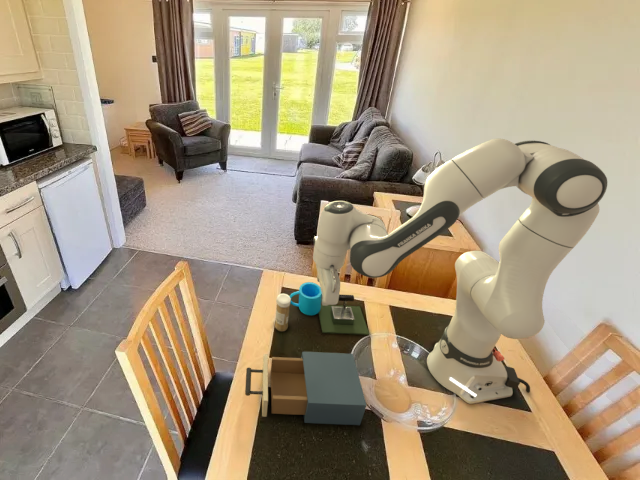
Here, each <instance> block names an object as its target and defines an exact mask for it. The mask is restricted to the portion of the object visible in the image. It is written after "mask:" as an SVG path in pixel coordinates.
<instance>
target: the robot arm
mask: <svg viewBox="0 0 640 480" xmlns="http://www.w3.org/2000/svg"><path fill="white" fill-rule="evenodd" d="M511 187H516V188H517V189H519V190H520V191H521V192H522V193H523V194H526V195H528V196H530V197H531V202H530V204H529V206H528V207H527V208H526V209H525V210H524V212H523V213H522V214H521V215H520V216H519V217H518V219H517V220H516V221H515V222H514V223H513V225H512V226H511V227H510V229H508V231H507V232H506V233H505V235H504V236H503V237H502V238H501V240H500V241H499V243H498V254H499V260H497V259H495V258H494V257H492V256H491V255H489V254H488V253H486V252H484V251H482V250H470V251H466V252H464V253H462V254H461V255H460V256H458V258H456V260H455V262H454V269H455V275H456V297H455V308H454V312H453V315H452V317H451V318H450V319H451V320H450V321H449V324H448V325H447V326H446V327H445V329H444V330H443V333H442V335H441V338H440V339H439V341H438V342H436V343H435V344H434V345H433V346H434V347H433V350H432V351H430V353H429V354H428V355H427V358H426V365H427V368H428V370H429V373H430V374H431V375H432V377H433V378H434V379H435V380H436V381H437V382H438V383H439V384H440V385H441V386H442V387H444V388H445V389H446V390H448V391H450V392H452V393H454V394H455V395H457V396H458V397H459V398H460V399H462V401H464V402H465V403H467V404H468V405H469V404H470V405H472V404H473V405H474V404H479V403H484V402H490V401H495V400H499V399H505V398H511V397H512V396H513V393H514V391H513V390H517V388H519V386H520V384H522V385H524V386H525V391H526V393H528V394H530V393H531V386H530V384H529V383H528V382H527V381H525V380H524V379H522V378H520V377H518V374H517V372H516V370H515V368H514V367H510V366H508V365H504V364H503V361H504V360H505V357H504V355H502V353H501V351H499V350H496V348H495V347H496V345H497V343H498V341H499V340H500V338H501V336H503V337H505V338H507V339H512V340H527V339H531V338H533V337H535V336H537V335H538V334H539V333H540V332H541V331H542V329H543V328H544V325H545V321H546V320H545V315H544V312H543V301H544V294H545V291H546V286H547V283H548V281H549V279H550V277H551V275H552V273H553V272H554V270H555V269H556V268H557V267H558V266H559V265H560V264H561V262H562V261H563V260H564V259H565V258H566V257H567V255H568V254H569V253H570V252H572V250H573V249H574V248H575V247H576V246H577V245H578V244H579V243H580V241H581V240H582V239H583V238H584V237H585V235H586V234H587V232H588V231H589V230H590V228H591V227H592V226H593V224H594V222H595V221H596V219H597V217H598V215H599V213H600V205H599V203H600V202H601V200H602V199H603V198H604V196H605V193H606V191H607V188H608V177H607V176H606V173H604V171H603V170H602V169H601V168H600V167H599V166H598V165H596V164H595V163H594V162H591V161H590V160H587V159H584V158H583V157H581V156H580V155H578V154H576V153H574V152H572V151H570V150H569V149H566V148H562V147H561V148H560V147H557V146H555V145H552V144H550V143H548V142H545V141H541V140H523V141H518V142H516V143H514V142H512V141H510V140H508V139H505V138H492V139H489V140H487V141H484V142H482V143H480V144H477V145H476V146H473V147H471V148H469V149H467V150H464V151H463V152H461V153H459V154H457V155H456V156H454V157H452V158H451V159H449V160H448V161H446V162H445V163H442V164H441V165H439V166H438V167H437V168H435V170H434V171H432V172H431V173H430V174H429V175H428V176H427V178H426V179H425V182H424V186H423V196H422V201H421V203H420V207H419V209H418V210H417V212H416V213H415V214H414V215H413V216H412V217H411V218H410V219H408V220H406V221H405V222H404V223H403V224H401V225H400V226H398V227H397V228H395V229H394V230H393V231H391V232H390V233H388V230H387V228H386V225H385V222H384V221H383V220H382V219H381V218H379V217H378V216H376V215H374V214H367V213H365V212H363V211H361V210H359V209H357V208H356V207H355V206H354V204H352V203H351V202H349V201H345V200H334V201H331V202H328V203H327V204H325V206H324V207H323V208H322V210H321V212H320V216H319V219H318V224H317V229H316V232H317V236H315V235H314V237H313V253H312V261H314V263H315V267H316V272H317V273H316V274H317V275H316V280H317V282H318V283H319V286H320V287H321V292H322V298H321V305H323V306H328V305H337V304H338V303H339V294H340V292H341V279H340V277H339V272H338V270H340V269H342V268H343V267H344V266H345V264H346V263H345V262H346V258H347V255H348V251H349V263H350V266H351V267H352V269H353V270H354V271H355V272H356V273H358V274H359V275H361V276H364V277H366V278H371V279H378V278H383V277H385V276H387V275H389V274H391V273H392V271H394V270H395V269H396V267H397V266H398V265H400V263H401V262H402V261H403V260H405V259H407V257H409V256H410V255H412V254H413V253H415V252H417V251H418V250H419V249H421V248H422V247H424V246H425V245H427V244H429V243H430V242H431V241H433V240H434V239H436V238H438V237H439V236H440V235H441V234H443V233H444V232H446V231H447V230H448V229H450V228H451V227H452V226H453V225H454V224H455V223H456V222H457V220H458V219H459V217H460V216H462V215H463V214H464V213H465V212H466V211H468V209H470V208H471V207H473V206H475V205H476V204H477V203H480V202H481V201H482V200H484V199H486V198H488V197H490V196H492V195H493V194H495V193H497V192H498V191H500V190H503V189H506V188H511Z"/></svg>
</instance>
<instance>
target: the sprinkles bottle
mask: <svg viewBox="0 0 640 480" xmlns="http://www.w3.org/2000/svg"><path fill="white" fill-rule="evenodd" d="M291 301H292V298H290V295H289V294H288V293H280V294H278V295H277V297H276V309H275V322H274V328H275V329H276V330H277V331H278V332H285V331H287V330H288V327H289V317H290V307H291Z"/></svg>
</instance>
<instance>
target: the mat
mask: <svg viewBox="0 0 640 480" xmlns="http://www.w3.org/2000/svg"><path fill="white" fill-rule="evenodd" d="M331 307H343V305H337V304H336V305H328V306H323V305H322V304H321V309H320V312H318V313H317V314H318V317H319V323H320V328H321V334H340V335H342V334H343V335H358V336H359V335H362V336H370V332H369V328H368V326H367V323H366V320H365V318H364V314H363V312H362V309H361V308H362V307H361V306H360V305H346V307H351V310H352V313H353V316H354V319H355V320H354V324H353V325H341V324H333V321H332V317H331Z"/></svg>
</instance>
